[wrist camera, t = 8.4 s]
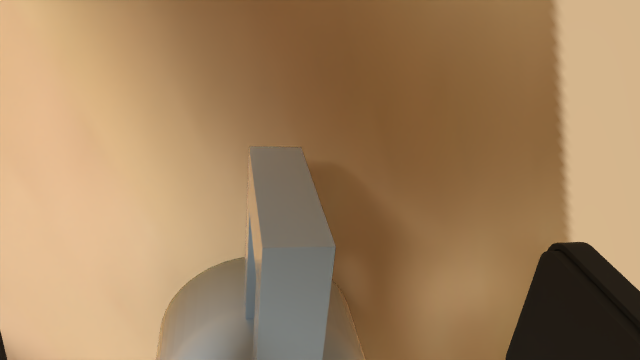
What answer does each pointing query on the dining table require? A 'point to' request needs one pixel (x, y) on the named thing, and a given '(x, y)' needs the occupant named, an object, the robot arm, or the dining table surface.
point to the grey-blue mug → (268, 280)
